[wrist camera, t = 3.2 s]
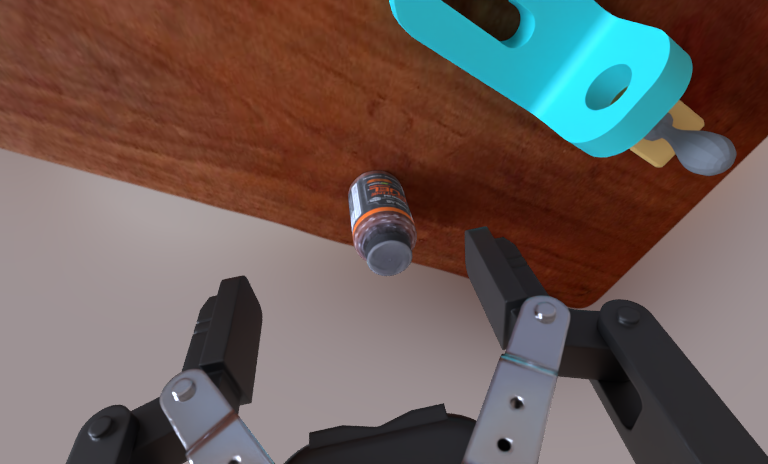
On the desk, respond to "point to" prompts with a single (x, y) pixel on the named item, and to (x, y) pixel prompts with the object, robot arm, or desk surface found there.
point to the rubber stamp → (685, 142)
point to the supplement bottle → (381, 223)
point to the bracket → (565, 66)
